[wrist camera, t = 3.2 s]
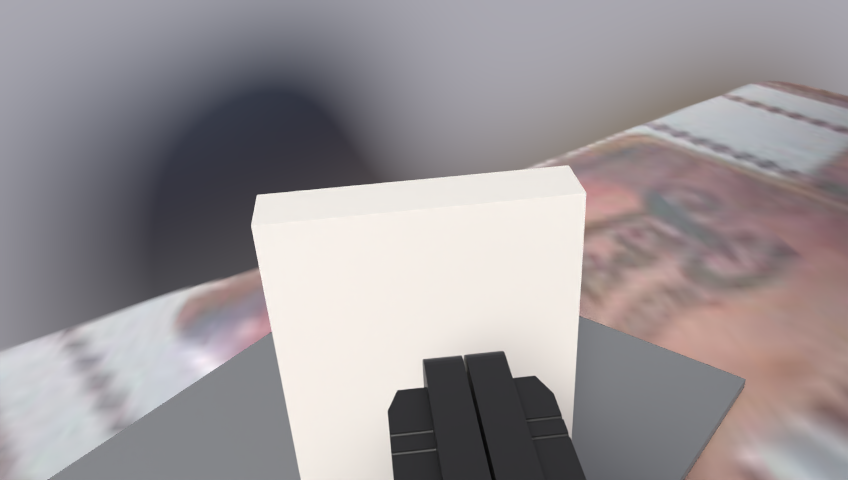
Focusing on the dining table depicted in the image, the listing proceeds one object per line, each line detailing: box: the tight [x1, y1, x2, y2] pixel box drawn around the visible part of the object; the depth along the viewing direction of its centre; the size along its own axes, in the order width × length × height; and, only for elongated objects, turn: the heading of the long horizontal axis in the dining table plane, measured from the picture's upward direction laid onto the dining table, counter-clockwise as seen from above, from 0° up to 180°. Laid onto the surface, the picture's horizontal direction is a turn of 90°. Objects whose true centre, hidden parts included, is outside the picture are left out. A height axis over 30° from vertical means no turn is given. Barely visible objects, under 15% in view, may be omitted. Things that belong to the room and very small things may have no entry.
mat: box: [48, 316, 746, 480], centre depth 35 cm, size 24×22×1 cm
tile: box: [251, 165, 586, 480], centre depth 27 cm, size 2×10×14 cm, turn 96°
